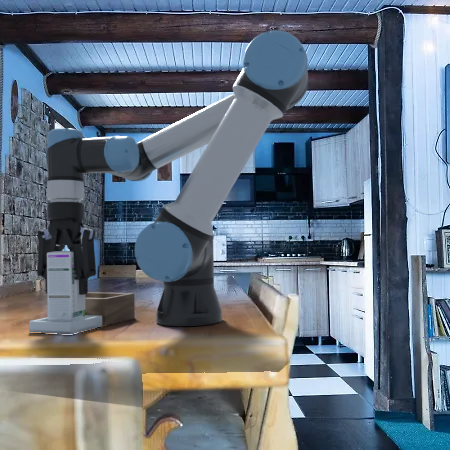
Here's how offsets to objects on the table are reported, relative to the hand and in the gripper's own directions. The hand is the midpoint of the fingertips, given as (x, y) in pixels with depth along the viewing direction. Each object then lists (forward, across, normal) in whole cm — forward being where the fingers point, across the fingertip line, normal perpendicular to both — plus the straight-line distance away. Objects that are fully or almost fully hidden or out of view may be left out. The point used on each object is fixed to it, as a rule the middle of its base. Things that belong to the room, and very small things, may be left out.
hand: (66, 309), depth 106 cm
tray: (+4, 0, 0) cm, 4 cm away
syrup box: (+2, 0, 0) cm, 2 cm away
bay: (+4, +2, -13) cm, 13 cm away
